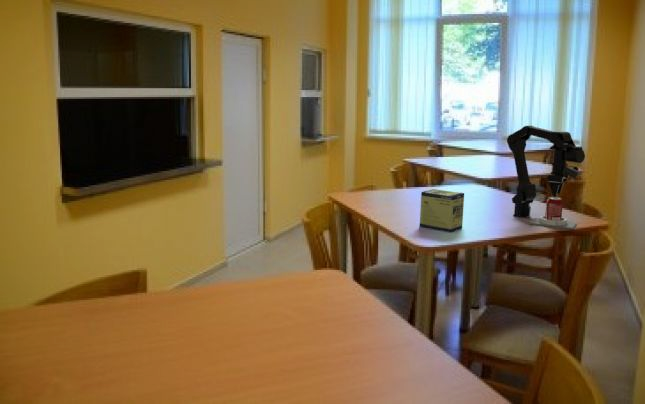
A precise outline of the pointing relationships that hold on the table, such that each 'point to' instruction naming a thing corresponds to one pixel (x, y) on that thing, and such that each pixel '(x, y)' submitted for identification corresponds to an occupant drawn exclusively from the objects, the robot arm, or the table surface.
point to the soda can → (554, 208)
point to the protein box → (441, 210)
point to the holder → (553, 223)
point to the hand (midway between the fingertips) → (556, 195)
